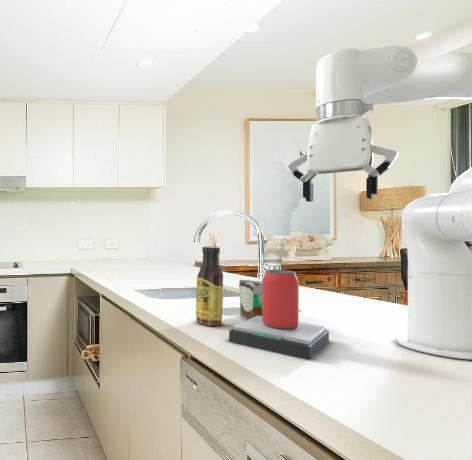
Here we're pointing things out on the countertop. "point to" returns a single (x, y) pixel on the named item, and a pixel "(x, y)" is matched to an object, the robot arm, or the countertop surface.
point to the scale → (281, 337)
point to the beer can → (280, 299)
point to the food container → (251, 298)
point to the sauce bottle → (209, 289)
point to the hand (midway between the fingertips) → (338, 199)
